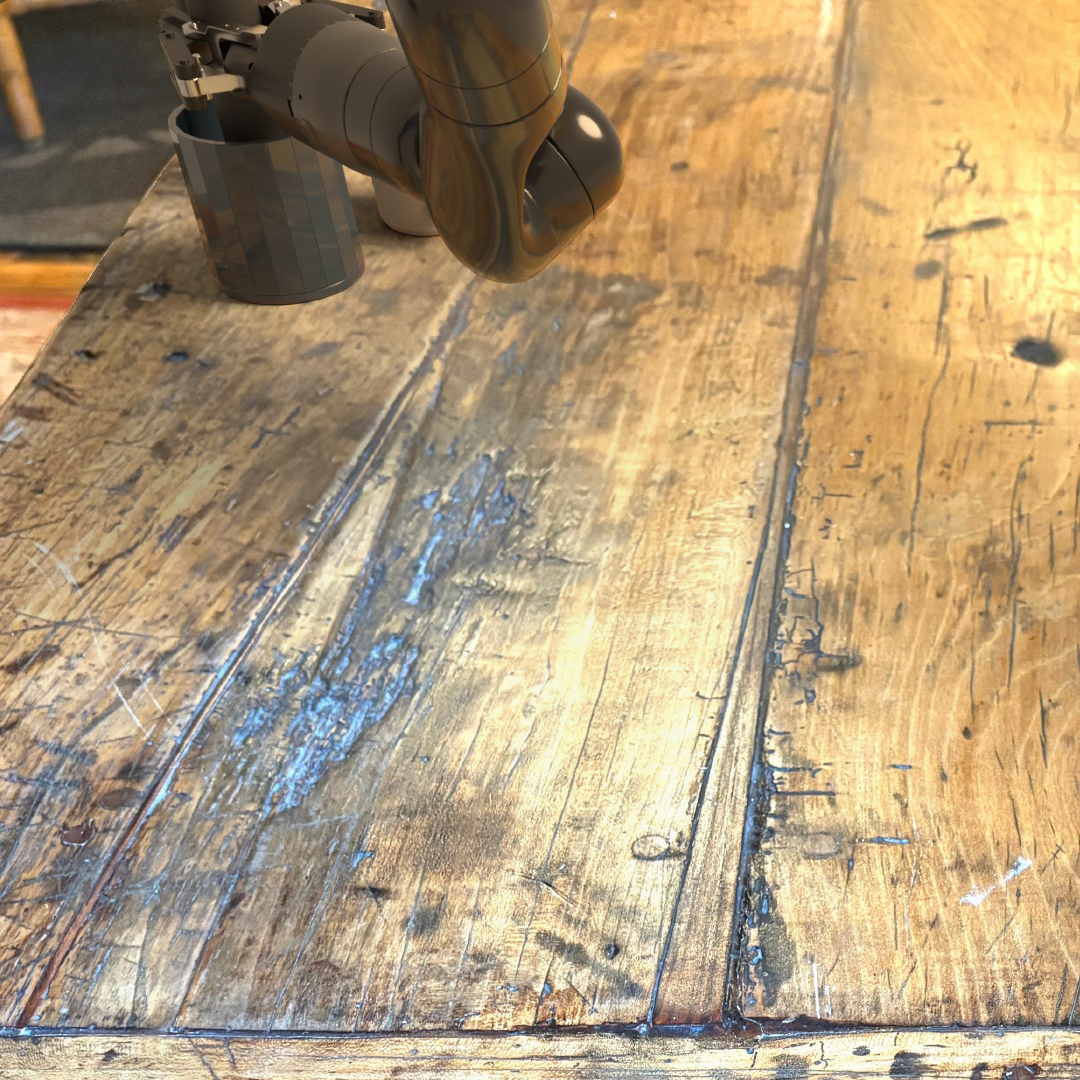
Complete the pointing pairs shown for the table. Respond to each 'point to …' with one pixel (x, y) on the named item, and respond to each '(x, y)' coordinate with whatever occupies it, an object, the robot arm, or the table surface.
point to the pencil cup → (267, 212)
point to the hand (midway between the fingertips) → (205, 18)
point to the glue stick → (236, 117)
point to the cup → (402, 211)
